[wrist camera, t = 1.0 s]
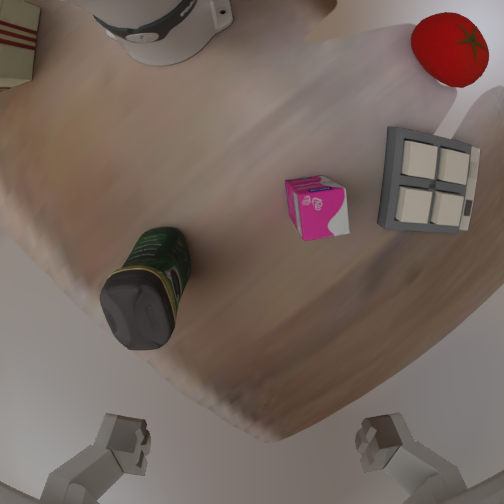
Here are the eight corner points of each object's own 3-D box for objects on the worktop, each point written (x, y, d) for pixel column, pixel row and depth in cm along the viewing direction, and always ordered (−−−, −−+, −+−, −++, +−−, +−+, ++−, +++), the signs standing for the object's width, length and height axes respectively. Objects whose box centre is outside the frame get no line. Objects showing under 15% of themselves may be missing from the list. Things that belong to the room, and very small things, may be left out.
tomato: (401, 11, 34) (442, -12, 22) (455, 37, 35) (501, 25, 23) (397, 76, 39) (443, 65, 27) (453, 98, 40) (502, 98, 28)
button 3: (398, 185, 43) (405, 188, 41) (424, 188, 43) (432, 192, 41) (393, 217, 45) (400, 221, 43) (419, 219, 45) (427, 223, 43)
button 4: (403, 140, 40) (411, 141, 38) (429, 145, 41) (437, 147, 38) (400, 172, 42) (407, 175, 40) (425, 176, 42) (434, 179, 40)
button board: (387, 126, 42) (396, 127, 39) (478, 148, 43) (488, 150, 40) (377, 223, 47) (384, 229, 45) (466, 229, 48) (475, 234, 46)
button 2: (438, 147, 41) (447, 149, 38) (460, 152, 41) (469, 154, 39) (435, 178, 43) (443, 180, 40) (457, 181, 43) (465, 184, 41)
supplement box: (322, 173, 44) (348, 187, 34) (326, 211, 46) (351, 236, 36) (283, 178, 44) (298, 194, 34) (288, 217, 47) (304, 244, 36)
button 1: (433, 190, 43) (442, 193, 41) (455, 193, 44) (464, 196, 41) (429, 219, 45) (436, 224, 43) (450, 221, 45) (458, 226, 43)
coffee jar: (134, 230, 46) (84, 287, 29) (183, 222, 46) (152, 278, 29) (150, 285, 50) (115, 359, 33) (196, 279, 50) (177, 356, 33)
